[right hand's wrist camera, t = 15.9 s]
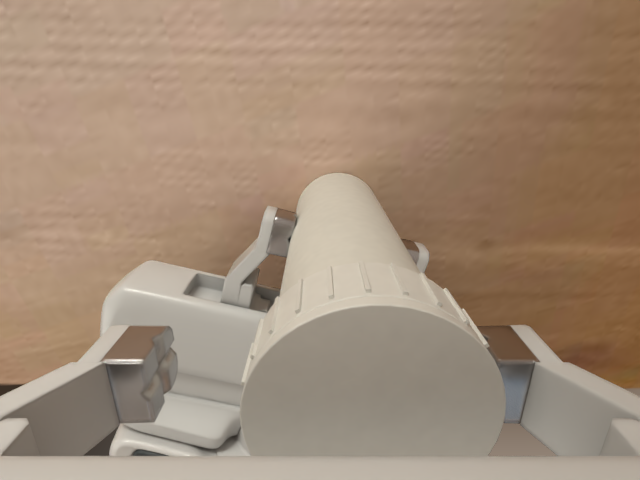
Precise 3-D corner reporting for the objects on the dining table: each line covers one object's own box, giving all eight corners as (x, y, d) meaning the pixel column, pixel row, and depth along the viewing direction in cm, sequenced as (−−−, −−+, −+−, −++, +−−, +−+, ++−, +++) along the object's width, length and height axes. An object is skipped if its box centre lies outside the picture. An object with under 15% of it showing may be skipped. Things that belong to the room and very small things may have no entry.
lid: (467, 239, 9) (506, 277, 7) (477, 427, 11) (511, 497, 9) (226, 281, 9) (202, 328, 7) (279, 456, 11) (271, 529, 9)
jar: (387, 237, 24) (494, 451, 9) (311, 260, 24) (302, 497, 10) (365, 161, 22) (454, 277, 8) (284, 187, 23) (226, 343, 8)
